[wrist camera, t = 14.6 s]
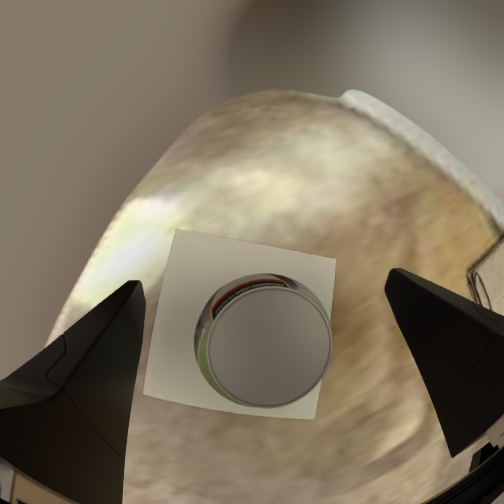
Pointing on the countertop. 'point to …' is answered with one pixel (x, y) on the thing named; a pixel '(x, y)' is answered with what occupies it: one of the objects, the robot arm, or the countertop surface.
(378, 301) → the countertop surface
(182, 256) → the cream mat
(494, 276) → the washcloth
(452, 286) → the countertop surface
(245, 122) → the countertop surface
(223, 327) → the beverage can
